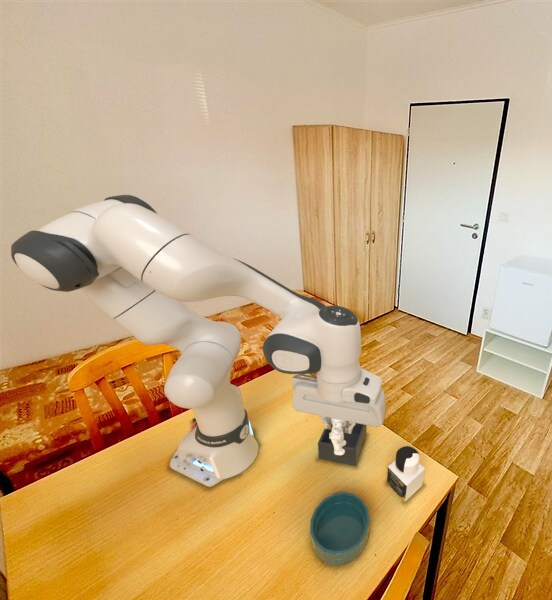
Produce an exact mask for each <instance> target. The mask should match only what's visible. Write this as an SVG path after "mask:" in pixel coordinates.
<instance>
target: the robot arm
mask: <svg viewBox="0 0 552 600" xmlns="http://www.w3.org/2000/svg"><path fill="white" fill-rule="evenodd" d="M10 256H11V259H12V260H13V262H14V264H15V265H16V266H17V267H18V268H19V270H20V271H21V272H22V273H23V274H24V276H26V277H27V278H28V279H30V280H31V281H33V282H35V283H37V284H38V285H41V286H42V287H44V288H46V289H47V290H51V291H55V292H63V293H64V292H65V293H69V292H74V291H77V290H81V291H82V292H83V294H84V295H85V296H86V297H87V298H88V299H89V300H90V301H91V302H92V303H93V304H94V305H95V306H96V307H97V308H98V309H99V310H101V312H102V313H104V314H105V315H106V316H107V317H109V319H111V320H112V321H113V322H115V324H117V325H118V326H120V327H121V328H122V329H124V330H125V331H126V332H127V333H129V334H130V335H131V336H133V338H135V339H136V340H138V341H139V342H140V343H142V344H144V345H147V346H158V345H166V346H169V347H171V348H173V349H175V350H177V351H179V352H180V356H179V357H178V359H177V360H176V362H175V363H173V366H172V367H171V368H170V371H169V373H168V375H167V378H166V380H165V384H164V387H163V391H164V395H165V397H166V398H167V400H168V401H169V402H171V403H172V404H173V405H174V406H177V407H179V408H183V409H189V410H192V412H193V415H194V417H195V418H192V422H193V424H192V425H191V426H190V427H189V431H188V432H187V433H186V434H185V435H184V437H183V438H182V439H181V440H180V442H179V444H178V446H177V449H176V451H175V452H174V453H173V455H172V456H171V459H170V461H169V468H170V469H172V470H174V471H175V472H176V473H179V474H180V475H183V476H185V477H187V478H189V479H192V481H195V482H197V483H199V484H201V485H204V486H205V487H208V488H212V487H214V486H216V485H217V484H218V483H220V482H222V481H224V480H227V479H230V478H233V477H235V476H238V475H240V474H241V473H244V471H246V470H248V468H250V466H251V465H252V464H253V463H254V462H255V460H256V458H257V457H258V454H259V449H260V447H259V443H258V441H257V440H256V437H255V435H254V430H253V428H252V426H251V422H250V420H249V416H248V415H249V414H248V412H247V410H246V408H245V404H244V400H243V399H244V398H243V395H242V390H241V389H240V388H239V387H238V386H237V385H235V384H231V374H232V370H233V367H234V365H235V362H236V360H237V358H238V356H239V354H240V351H241V346H242V334H241V331H240V330H239V329H238V327H236V326H235V325H234V324H232V323H230V322H228V321H217V320H212V319H209V318H207V317H205V316H203V315H201V314H199V313H198V312H196V311H194V310H193V309H191V308H190V307H189V306H187V305H186V304H185V303H197V302H198V303H199V302H204V301H208V300H211V299H216V298H221V297H241V298H245V299H247V300H249V301H251V302H252V303H255V304H256V305H258V306H260V307H262V308H264V309H265V310H267V311H269V312H270V313H273V314H274V315H276V316H277V317H279V318H280V319H281V320H280V321H279V322H278V323H277V324H276V325H275V326H274V328H273V329H272V330H271V331H270V332H269V334H268V336H266V338H265V340H264V341H263V344H262V352H263V356H264V358H265V360H266V362H267V364H269V366H271V368H273V369H274V370H275V371H277V372H279V373H282V374H286V375H293V376H292V378H291V386H292V389H293V391H292V398H291V399H292V400H291V401H292V402H291V403H292V404H291V405H292V408H293V409H294V410H295V411H296V412H298V413H305V414H309V415H314V416H319V419H320V421H321V422H322V423H323V424H324V429H329V430H332V427H333V425H332V422H331V418H334V419H339V420H344V421H349V422H347V423H346V425H345V427H344V430H345V431H344V433H349V434H351V432H352V430H353V427H354V426H355V424H356V423H359V424H364V425H367V426H368V427H369V426H370V427H373V428H374V427H375V428H380V427H381V426H383V424H384V422H385V418H386V413H387V404H386V403H387V402H386V395H385V392H384V390H383V389H382V386H383V378H382V377H380V376H379V375H378V374H377V375H376V374H374V373H373V372H370V371H368V370H367V369H365V368H363V367H362V366H361V363H360V357H361V354H362V331H361V323H360V321H359V318H358V316H357V315H356V314H355V312H353V311H352V310H351V309H348V307H347V308H346V307H345V306H341V305H325V304H324V303H322V302H321V301H319V300H317V299H315V298H312V297H309V296H305V295H302V294H300V293H297V292H296V291H294V290H292V289H291V288H289V287H287V286H285V285H283V284H282V283H280V282H279V281H277V280H275V279H274V278H272V277H270V276H269V275H267V274H266V273H264V272H262V271H261V270H259V269H257V268H255V267H254V266H252V265H250V264H248V263H247V262H244V261H241V260H239V259H237V258H234V257H231V256H228V255H226V254H224V253H222V252H220V251H218V250H216V249H214V248H212V247H211V246H209V245H207V244H206V243H204V242H202V241H201V240H199V239H198V238H197V237H195V236H193V235H192V234H191V233H189V232H188V231H186V230H185V229H184V228H182V227H181V226H179V225H177V224H176V223H174V222H173V221H171V220H168V218H166V217H164V216H162V215H160V214H158V212H157V211H156V210H155V209H154V208H153V207H152V206H151V205H150V203H148V202H146V201H144V200H143V199H141V198H140V197H138V196H135V195H131V194H120V195H119V194H118V195H113V196H108V197H106V198H104V199H103V200H101V201H97V202H94V203H90V204H87V205H83V206H81V207H79V208H75V209H73V210H70V211H69V212H68V213H67V214H64V215H63V216H61V217H59V218H56V219H54V220H52V221H50V222H49V223H47V224H44V225H43V226H41V227H39V228H38V229H37V230H29V231H27V232H26V233H24V234H23V235H22V236H20V237H19V238H17V239H16V240H15V241H14V242H13V243H12V244H11V246H10ZM312 374H313V375H312ZM314 374H316V375H314Z"/></svg>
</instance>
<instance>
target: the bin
mask: <svg viewBox="0 0 552 600" xmlns="http://www.w3.org/2000/svg"><path fill="white" fill-rule="evenodd" d="M346 422H349V421H346ZM367 426H368V425H364V424H359V423H356V424H355V426H354V427H353V430H352V432H351V434H349V433H344V431H345V430H343V434H344V439H343V440H345V441H346V445H345V446H342V448H343V449H344V450H345V453H344V454H343V455H335V454H334V446H333V443H332V441H331V438H330V439H329V434H330V433H331V431H332V430H329V429H325V428H324V429H323V431H322V433H321V435H320V437H319V439H318V442H317V452H318V453H317V454H318V460H323V461H328V462H333V463H338V464H343V465H347V466H352V467H353V466H354V467H357V466H358V462H359V459H360V456H361V454H362V453H361V452H362V449H363V446H364V443H365V440H366V437H367Z"/></svg>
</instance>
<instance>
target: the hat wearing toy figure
mask: <svg viewBox="0 0 552 600" xmlns="http://www.w3.org/2000/svg"><path fill="white" fill-rule="evenodd" d="M331 422H332V425H333V427H332V431H331V433H330V434H329V439H330V438H331V441H332V443H333V446H334V454H335V455H343V454H344V453H345V450H344V449H343V448H342V446H345V445H346V441H345V440H343V439H344V434H343V430H344V427H345V425H346V423H347V422H346V421H344V420H339V419H334V418H331Z"/></svg>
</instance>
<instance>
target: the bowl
mask: <svg viewBox="0 0 552 600" xmlns="http://www.w3.org/2000/svg"><path fill="white" fill-rule="evenodd" d="M370 522H371V519H370V512H369V508H368V506H367V505H366V503H365V501H364V500H363V499H362V498H361V497H359V496H358V495H357V494H355V493H351V492H348V491H347V492H346V491H341V492H334V493H332V494H330V495H328V496H327V497H325V498H323V499H322V501H321V502H320V503H319V504H317V506H316V507H315V508H314V510H313V513H312V516H311V518H310V526H309V527H310V528H309V533H310V541H311V542H310V544H311V547H312V549H313V551H314V555H315V556H316V557H317V558H318V559H319V560H321V561H322V562H323V563H324V564H327V565H331V566H337V567H338V566H342V565H346V564H349V563H351V562H352V561H353V560H355V559H357V558H358V557H359V556H360V555H361V553H362V552H363V550H364V549H365V548H366V546H367V543H368V539H369V534H370V525H371V523H370Z"/></svg>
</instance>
